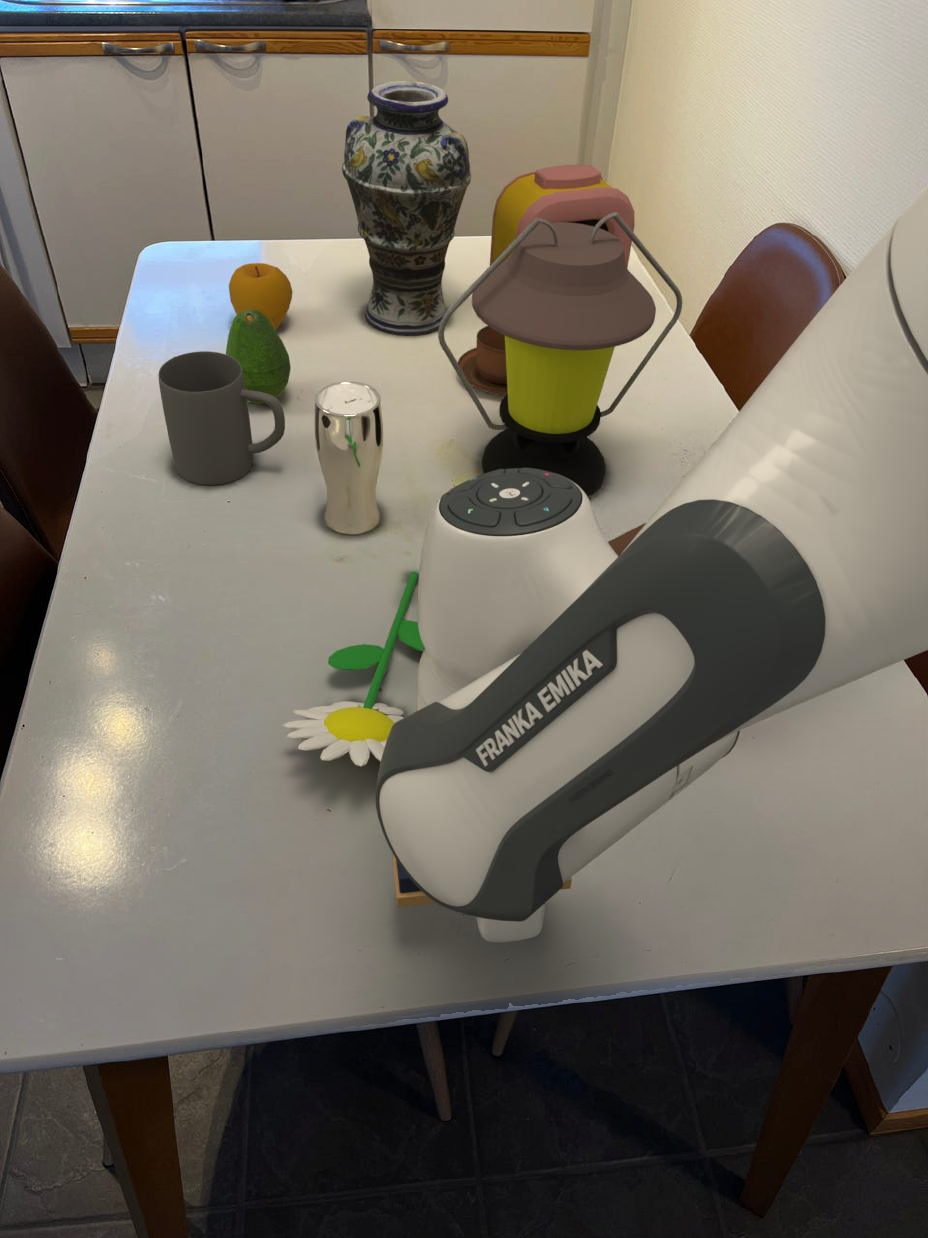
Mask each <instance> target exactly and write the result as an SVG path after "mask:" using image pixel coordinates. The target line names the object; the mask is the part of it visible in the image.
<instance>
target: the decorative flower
mask: <svg viewBox="0 0 928 1238" xmlns="http://www.w3.org/2000/svg"><path fill="white" fill-rule="evenodd" d="M418 579H419V572H417V571H411V572H410V575H409V577H408V580H407V583H406V586H405V588H404V592H403V594H402V597H401V600H400V602H399V604H398V608H397V611H396V613H395V616H394V620H393V622H392V625H391V628H390V631H389V632H388V636H387V639H386V641H385V645H384V647H382V646H381V645H376V644H367V643H364V644H355V645H350V646H347V647H344V648H341V649H338V650H336V651H334V652H333V653H332V654H331V655H330V656H329V657H328V660H327V664H328V666H330V667H331V668H333V669H335V670H341V671H358V670H363V669H364V670H365V669H367V668H370V667H373V666H376V665H377V667H376V669H375V672H374V675H373V678H372V682H371V684H370V687H369V689H368V692H367V695H366V698H365V701H364V702H359V701H357V702H355V701H350V700H347V701H342V700H341V701H338V702H333V703H332V704H331V705H318V706H314V707H310V708H309V709H295V710H293V711H292V712H293V713H294V714H295V715H297V716H299V717H301V718H303V719H298V720H292V721H287V722H284V724H282V726H283V727H285V728H286V729H292V730H293V731H291V732H289V733H288V734H287V736H286V738H290V739H294V740H295V739H296V740H297V739H298V740H303V741H302V742H301V743H300V744H299V745H298V746H297V748H298V750H301V751H315V750H320V749H323V748H324V749H323V750H322V752H321V754H320V757H319V758H320V759H321V760H322V761H328V762H330V761H333V760H336V759H339V758H341V757H343V756H344V755H346V754H347V753H349V757H350V760H351V761H352V763H353V764H354V765H355V766H359V767H363V766H366V765H367V764H368V762H369V760H370V756H371V754H372V756H374V758H375V759H376V760H378V761H379V762H380V763H381V758H382V755H383V751H384V748H385V745H386V741H387V739H388V736H389V733H390V731H391V728H392V726H393V725H394V723H396V722H397V721H399V720H401V719H403V718H405V717H404V714H405V712H404V711H403V710H402V709H401V708H398V707H395V706H389V705H388V704H386V703H382V702H377V703H376V699H377V696H378V693H379V691H380V688H381V685H382V682H383V680H384V676H385V673H386V670H387V667H388V665H389V662H390V659H391V656H392V653H393V650H394V647H395V645H396V641H397V638H398V639H399V640H400V641H401V642H402V643H404V644H405V645H407V646H409V647H410V648H412V649H414V650H416V651H420V652H424V650H423V643H422V640H421V637H420V633H419V629H418V621H413V620H408V619H404V618H405V616H406V612H407V609H408V607H409V604H410V602H411V598H412V596H413V592H414V590H415V586H416V584H417V580H418ZM304 739H305V740H304Z"/></svg>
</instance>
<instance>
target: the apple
mask: <svg viewBox="0 0 928 1238" xmlns="http://www.w3.org/2000/svg"><path fill="white" fill-rule="evenodd" d="M228 291H229V299H230V303H231V305H232V307H233V310H234V313H235V315H237V314H239V313H241V312H244V311H246V310H257V311H259V312H261V313H262V314H263V315H264V316H266V317H267V318H268V319H269V321H270V323H271V324H272V326H273V327H274V329H275V330H277V329H278V328H279V327H280V326H281V325H282V324H283V322H284V320H285V318H286V316H287V314H288V311H289V309H290V306H291V303H292V299H293V287H292V283H291V281H290V279H289V278H288V276H287V275H286V274H285V273H284V272H283V271H282V270H281V269H280V268H279V267H277V266H274V265H271V264H269V263H262V262H252V263H246V264H242V265H241V266H239V267H237V268H236V269H235V270H234V272H233V273H232V275H231V277H230V280H229V283H228Z"/></svg>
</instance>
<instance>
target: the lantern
mask: <svg viewBox="0 0 928 1238" xmlns="http://www.w3.org/2000/svg"><path fill="white" fill-rule="evenodd" d="M611 218H614V219H615V220H616V222H617V223H618V224H619V225H620V226H621V228H622V229H623V230H624V231H625V233H626V234H627V235H628V236H629V238H630V239H631V240H632V243H633V244H634V245H635V246H636V247H637V249H638V250H639V251H640V252H641V254H642V255H643V256H644V258H645V259H646V260H647V261H648V262H649V263H650V265H651V267H653V268H654V270H655V271H656V272H657V273H658V275H659V276H660V277H661V279H663V281H664V282H665V284H667V286H668V287H669V288H670V290H671V291H672V292H673V293H674V296H675V299H676V307H675V311H674V314H673V316H672V318H671V320H669V322H668V324H667V325H666V326H665V328H664V329H663V330H662V332H661V333H660V335H658V338H657V339H656V340H655V342H654V344H653V345H652V346H651V347H650V349H649V350H648V351H647V353H646V355H645V356H644V358H643V359H642V361H641V362H640V363H639V365H638V366H637V368H636V369H635V371H634V372H633V373H632V374H631V376H630V377H629V379H628V380H627V382H626V383H625V385H624V386H623V387H622V389H621V390H620V391H619V393H618V395H617V396H616V398H615V399H614V400H613V402H612V403H611V405H610V406H609V407H608V408H607V409H605V410H603V411H601V408H600V406H599V405H598V404H599V400H600V397H601V393H602V390H603V388H604V383H605V381H606V377H607V375H608V371H609V367H610V364H611V361H612V357H613V355H614V351H615V348H616V347H620V346H622V345H625V344H628V343H631V342H634V341H636V340H637V339H640V338H641V337H642V336H644V335H645V334H646V333H647V332H648V331H649V330H651V329H652V326H653V325H654V323H655V320H656V314H657V307H656V304H655V300H654V299H653V297H652V295H651V293H650V292H649V291H648V290H647V289H646V287H645V286H644V285H643V284H642V283H641V282H640V281H639V280H638V279H637V277H635V276H634V274H633V273H632V272H631V271H630V270H629V269H628V268H627V266H626V261H625V254H624V248H623V244H622V242H621V241H620V240H619V239H618V238H617V237H616V236H614V235H613V234H611V233H609V232H607V231H605V230H602V229H600V226H601V225H602V224H603V223H604V222H606V221H607V220H609V219H611ZM539 223H543V224H540V225H538V224H539ZM513 250H514V251H513ZM512 251H513V253H512V255H511V257H510V258H508V259H507V260H506V261H504V260H505V259H506V257H507V256H508V255H509V254H510V253H511V252H512ZM503 261H504V262H503ZM502 262H503V263H502ZM470 296H471V307H472V308H473V311H474V313H475V314H476V316H477V317H478V318H479V320H481V321H482V323H483V324H485V325H486V326H489V327H490V328H492V329H493V330H495V331H497V332H499V333H501V334H503V335H505V349H506V370H507V390H508V394H504V396H503V398H501V400H500V403H499V411H498V412H499V417H500V420H501V422H502V423H503V424H496V423H493V422H492V420H491V418H490V417H489V415H488V413H487V411H486V410H485V407H484V406H483V404H482V403H481V401H480V399H479V397H478V395H477V394H476V393H475V390H474V389H473V386H472V385H470V384H469V382H468V380H467V378H466V377H465V375H464V373H463V371H462V370H461V368H460V366H459V365H458V361H457V359H456V358H455V356H454V354H453V352H452V351H451V349H450V347H449V346H448V345H447V342H446V338H445V328H446V325H447V323H448V321H449V319H450V317H451V316H452V315H453V314H454V313H455V312H456V311H457V310H458V308H459V307H460V306H462V304H464V303H465V301H466V300H467V299H469V297H470ZM682 309H683V296H682V293H681V290H680V289H679V287H678V286H677V285H676V284H675V283H674V281H673V280H672V279H671V277H670V275H668V274H667V272H666V271H665V269H664V268H663V267H662V266H661V265H660V264H659V262H658V261H657V260H656V259H655V257H654V256H653V255H652V254H651V252H650V251H649V250H648V249H647V247H646V246H645V245H644V243H643V242H642V241H641V240H640V239H639V237H638V236H637V235H636V234H635V233H634V232H633V231H632V230H631V229H630V228H629V227H628V225H627V224H626V223H625V222H624V220H623V219H622V218H621V217H620V215H619V214H618V213H617V212H615V213H611V214H609V215H607V216H605V217H604V218H602V219H601V220H600V221H599V222H598V223H597V224H596V226H595V227H593V226H589V225H584V224H578V223H566V222H557V223H549V222H547V221H546V220H543V219H540V218H535V219H534V221H533V222H532V223H531V224H530V225H529V226H528V227H527V228H526V229H525V230H524V231H523V232H522V233H521V234H520V235H519V236H518V237H517V238H516V239H515V240H514V241H513V242H512V243H511V245H510V246H509V247H508V248H507V249H506V250H505V251H504V252H503V253H502V254H501V255H500V256H499V257H498V258H497V259H496V260H495V261H494V262H493V263H492V264H491V265H490V264H489V266H488V267H487V268H486V269H485V270H484V272H483V273H482V274H481V275H479V276H478V278H477V279H476V280H475V281H474V282H473V283H472V284H471V285H470V286H469V287H468V288H467V289H466V290H465V291H464V292H463V294H461V295H460V297H458V299H456V301H455V302H454V303H453V304H451V306H450V307H449V308H447V309H446V311H447V312H446V313H445V314H444V316H443V318H442V320H441V322H440V325H439V330H437V337H438V342H439V343H438V344H439V345H440V347H441V349H442V351H443V352H444V354H445V355H446V357H447V359H448V361H449V362H450V364H451V366H452V367H453V369H454V371H455V373H456V374H457V376H458V378H459V379H460V381H461V383H462V384H463V386H464V388H465V389H466V391H467V393H468V395H469V397H470V398H471V400H472V401H473V403H474V405H475V407H476V409H477V411H478V412H479V413H480V415H481V418H482V419H483V421H484V422H485V424H486V425H487V427H488V428H489V429H491V430H494V431H500V432H498V433H497V434H496V435H494V436H493V437H492V438H491V439H490V441H489V442H488V443H487V445H486V446H485V447H484V451H483V454H482V456H481V468H482V469H481V470H482V472H483V474H485V473H488V472H491V471H495V470H498V469H513V468H534V469H540V470H544V471H548V472H552V473H556V474H559V475H561V476H563V477H566V478H568V479H569V480H571V481H573V482H574V483H575V484H577V485H578V486H579V487H580V488H581V489H582V490H583V491H584V492H585V494H586V495H587V497H588V498H589V497H591V496H592V495H594V494H595V493H596V492H597V491H598V490H599V489H600V488H601V486H602V484H603V482H604V480H605V478H606V472H607V471H606V470H607V468H606V467H607V465H606V461H605V457H604V455H603V453H602V452H601V450H600V448H599V447H598V445H597V444H596V443H595V441H593V440H592V439H591V438H589V436H592V435H593V434H594V433H595V432H596V431H597V430H598V428H599V427H600V424H601V418H604V417H606V416H609V415H611V414H612V413H613V412H614V411H615V410H616V408H617V406H618V405H619V403H620V402H621V401H622V399H623V398H624V396H625V395H626V394H627V392H628V391H629V390H630V388H631V387H632V386H633V384H634V382H635V381H636V379H637V378H638V377H639V375H640V374H641V373H642V371H643V369H644V368H645V367H646V365H647V364H648V363H649V361H650V359H651V358H652V357H653V355H654V354H655V353H656V351H657V350H658V348H659V347H660V346H661V344H662V343H663V341H664V340H665V339H666V337H667V336H668V334H669V333H670V331H671V330H672V329H673V327H674V326H675V325H676V323H677V322H678V320H679V318H680V316H681V313H682Z"/></svg>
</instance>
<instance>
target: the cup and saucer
mask: <svg viewBox="0 0 928 1238" xmlns="http://www.w3.org/2000/svg"><path fill="white" fill-rule="evenodd" d="M457 363H458V365H459V366H460V368H461V370H462V371H463V373H464V375H465V377H466V378H467V380H468V382H469V384H470V385H471V387H472V388H475V389H478V390H479V391H482V392H486V393H491V394H494V395H495V394H497V395H507V394H508V390H507V370H506V349H505V335H503V334H501V333H499V332H497V331H495V330H493V329H492V328H490V327H489V326H488V325H486V326H484V327H482V328H481V329H479V330H478V332H477V333H476V347H473V348H471V349H469V350H467V351H466V352H464V353H463V354H462V355H460V357H459V358H458V361H457Z"/></svg>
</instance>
